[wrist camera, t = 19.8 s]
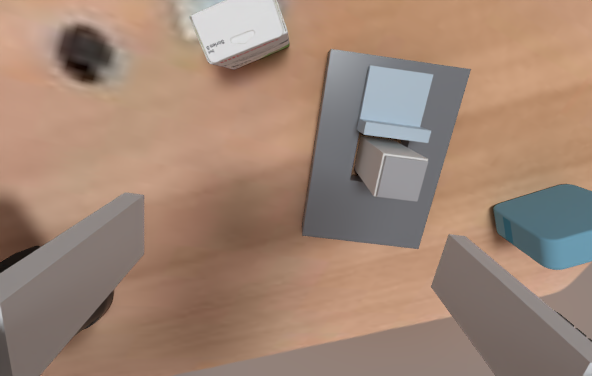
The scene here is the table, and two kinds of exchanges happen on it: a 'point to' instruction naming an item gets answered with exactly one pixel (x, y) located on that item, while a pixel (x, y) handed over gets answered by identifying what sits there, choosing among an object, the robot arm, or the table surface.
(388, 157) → the plug
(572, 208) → the data package
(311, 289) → the table surface
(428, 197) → the socket block
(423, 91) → the light blue l-shaped block
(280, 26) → the ink box
